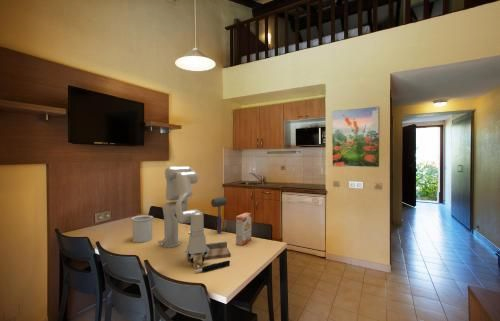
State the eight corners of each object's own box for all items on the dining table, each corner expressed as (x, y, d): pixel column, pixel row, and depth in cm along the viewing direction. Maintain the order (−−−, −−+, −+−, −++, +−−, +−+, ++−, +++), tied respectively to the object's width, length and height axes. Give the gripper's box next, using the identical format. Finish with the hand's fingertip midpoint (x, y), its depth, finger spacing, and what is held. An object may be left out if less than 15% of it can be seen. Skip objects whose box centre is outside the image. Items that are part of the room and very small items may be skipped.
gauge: (194, 271, 131) (193, 258, 131) (193, 263, 141) (192, 251, 141) (203, 269, 132) (202, 257, 132) (201, 261, 143) (201, 250, 143)
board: (188, 262, 142) (188, 253, 142) (187, 253, 156) (187, 245, 156) (230, 256, 150) (230, 248, 150) (226, 248, 163) (226, 241, 163)
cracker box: (243, 246, 168) (242, 217, 168) (235, 244, 170) (235, 216, 170) (251, 240, 180) (251, 212, 180) (245, 238, 183) (244, 212, 183)
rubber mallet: (216, 235, 191) (215, 199, 191) (210, 233, 196) (210, 198, 196) (227, 232, 200) (227, 197, 200) (222, 230, 205) (221, 196, 205)
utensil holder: (142, 235, 193) (142, 214, 193) (157, 237, 188) (156, 215, 188) (127, 241, 180) (127, 218, 179) (142, 244, 174) (142, 220, 174)
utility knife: (194, 275, 126) (194, 270, 126) (192, 272, 130) (192, 267, 130) (230, 266, 137) (230, 260, 137) (227, 263, 141) (227, 258, 141)
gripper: (182, 236, 133) (182, 268, 133) (212, 233, 138) (212, 264, 138) (182, 232, 140) (182, 262, 140) (210, 229, 145) (211, 259, 145)
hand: (197, 263), depth 139 cm, fingers closed on gauge, 5 cm apart
